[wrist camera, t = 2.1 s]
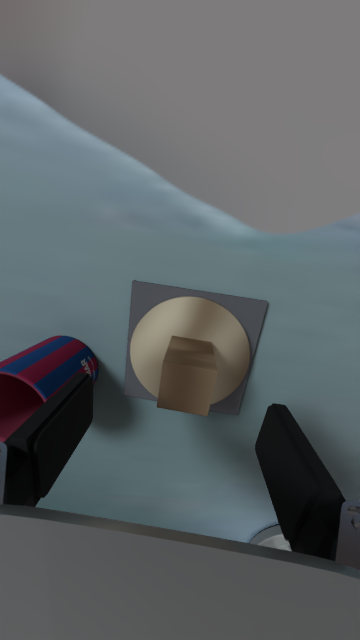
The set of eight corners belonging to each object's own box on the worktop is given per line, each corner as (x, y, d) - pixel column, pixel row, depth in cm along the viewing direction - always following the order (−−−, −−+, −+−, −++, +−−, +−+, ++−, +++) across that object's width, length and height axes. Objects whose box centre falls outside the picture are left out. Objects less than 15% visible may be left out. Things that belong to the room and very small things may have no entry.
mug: (100, 394, 21) (58, 451, 15) (14, 387, 22) (-63, 438, 15) (96, 337, 20) (46, 373, 13) (2, 331, 20) (-91, 362, 14)
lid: (260, 306, 17) (292, 325, 11) (233, 410, 20) (247, 465, 14) (137, 287, 17) (110, 296, 12) (128, 392, 20) (103, 439, 15)
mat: (266, 301, 17) (268, 301, 17) (236, 412, 21) (237, 415, 20) (133, 280, 18) (132, 280, 17) (125, 392, 21) (123, 395, 21)
